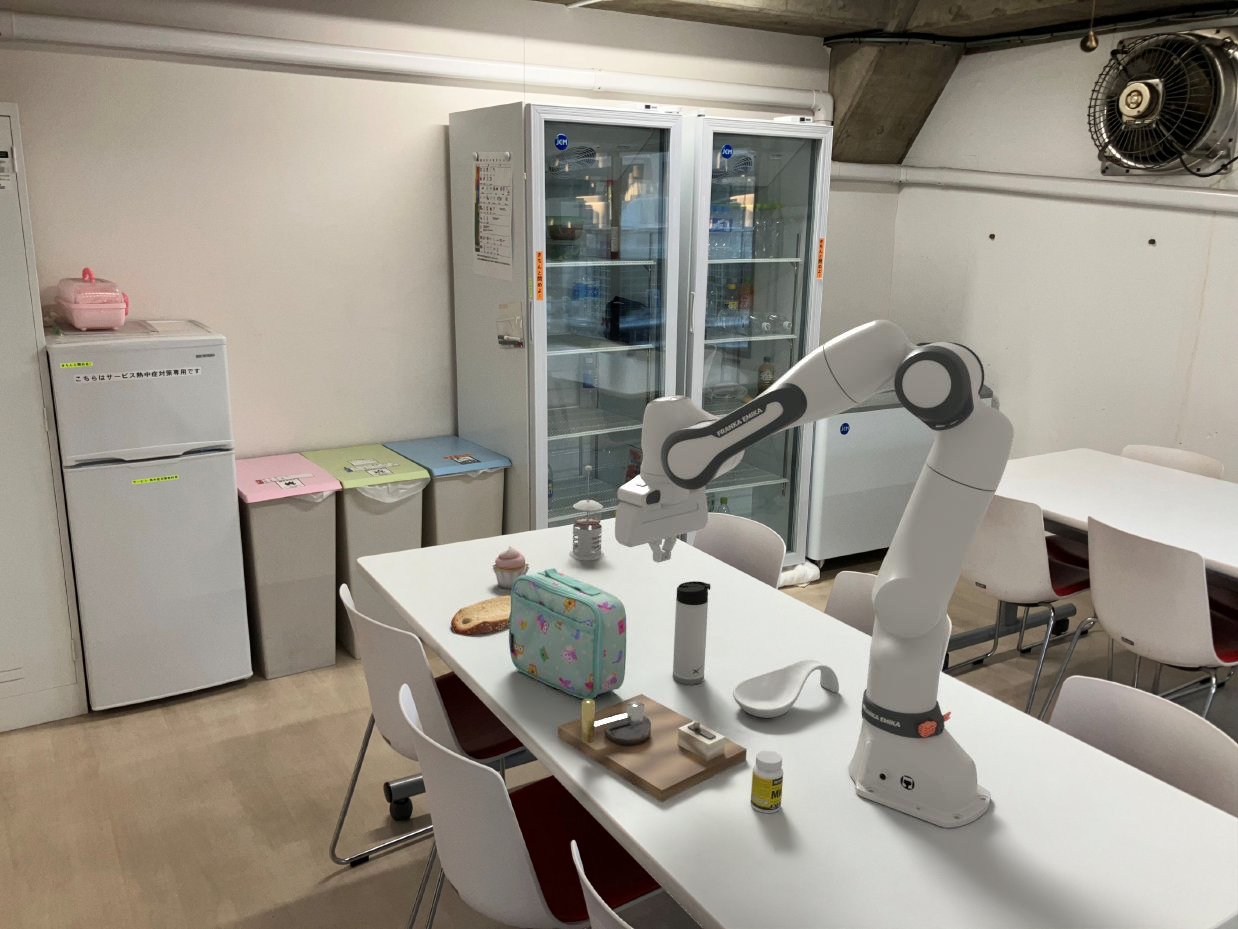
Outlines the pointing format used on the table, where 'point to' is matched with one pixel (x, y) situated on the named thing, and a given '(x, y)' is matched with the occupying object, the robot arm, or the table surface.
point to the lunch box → (567, 633)
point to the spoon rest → (780, 688)
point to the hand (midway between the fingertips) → (661, 560)
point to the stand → (659, 750)
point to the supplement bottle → (767, 782)
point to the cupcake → (509, 567)
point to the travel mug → (690, 632)
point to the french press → (587, 530)
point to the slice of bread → (483, 617)
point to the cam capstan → (616, 724)
